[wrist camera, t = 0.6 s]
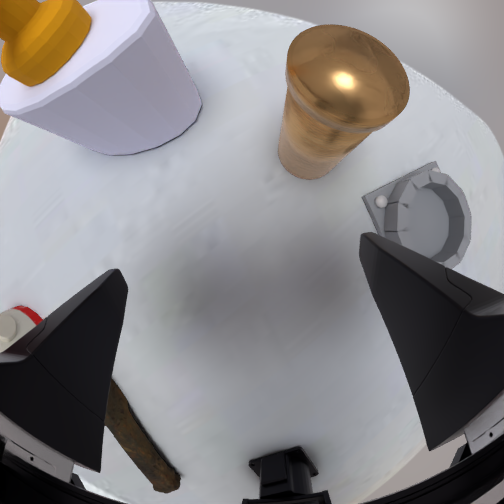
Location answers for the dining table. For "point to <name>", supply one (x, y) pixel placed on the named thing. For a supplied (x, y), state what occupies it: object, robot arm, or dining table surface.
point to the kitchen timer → (16, 325)
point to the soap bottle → (95, 73)
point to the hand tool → (137, 443)
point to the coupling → (336, 96)
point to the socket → (424, 214)
